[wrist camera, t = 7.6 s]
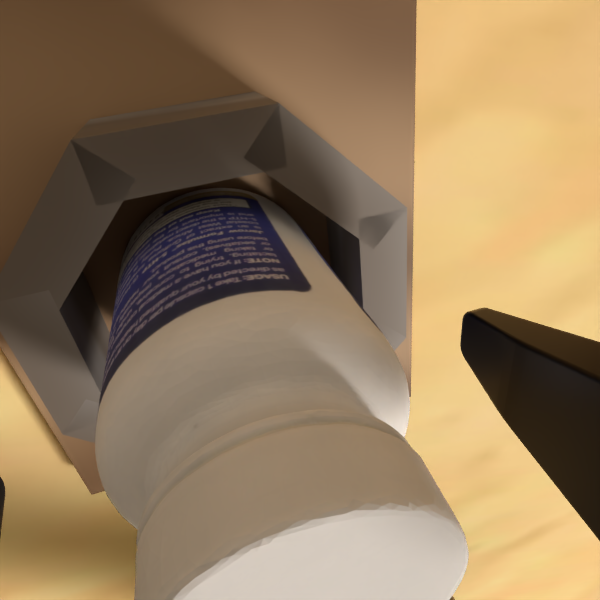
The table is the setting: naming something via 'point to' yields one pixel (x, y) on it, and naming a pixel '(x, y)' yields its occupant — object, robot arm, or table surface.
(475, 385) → the table surface
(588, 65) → the table surface
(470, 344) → the robot arm
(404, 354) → the collar board
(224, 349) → the pill bottle
